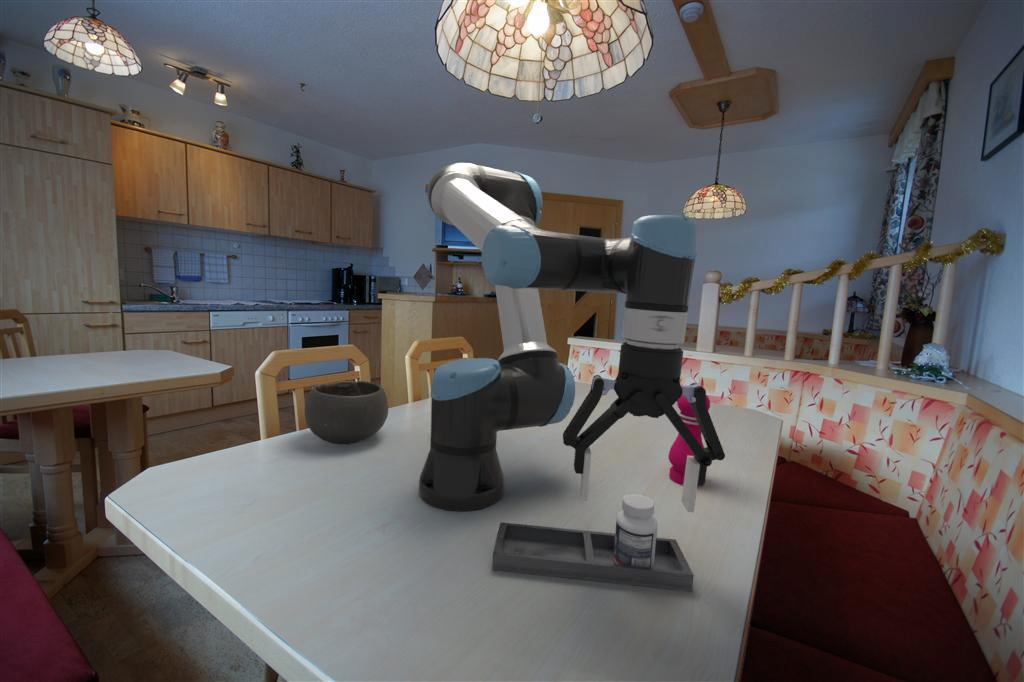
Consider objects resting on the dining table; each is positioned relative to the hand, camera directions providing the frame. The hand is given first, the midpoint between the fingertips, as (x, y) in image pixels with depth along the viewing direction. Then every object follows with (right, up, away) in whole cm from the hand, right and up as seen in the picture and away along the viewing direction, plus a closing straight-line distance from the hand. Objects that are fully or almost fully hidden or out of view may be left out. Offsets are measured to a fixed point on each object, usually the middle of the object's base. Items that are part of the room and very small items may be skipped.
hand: (634, 501), depth 56 cm
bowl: (-54, -2, +41) cm, 68 cm away
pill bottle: (0, -9, 0) cm, 9 cm away
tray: (-6, -9, +1) cm, 10 cm away
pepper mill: (+19, -7, +29) cm, 35 cm away
